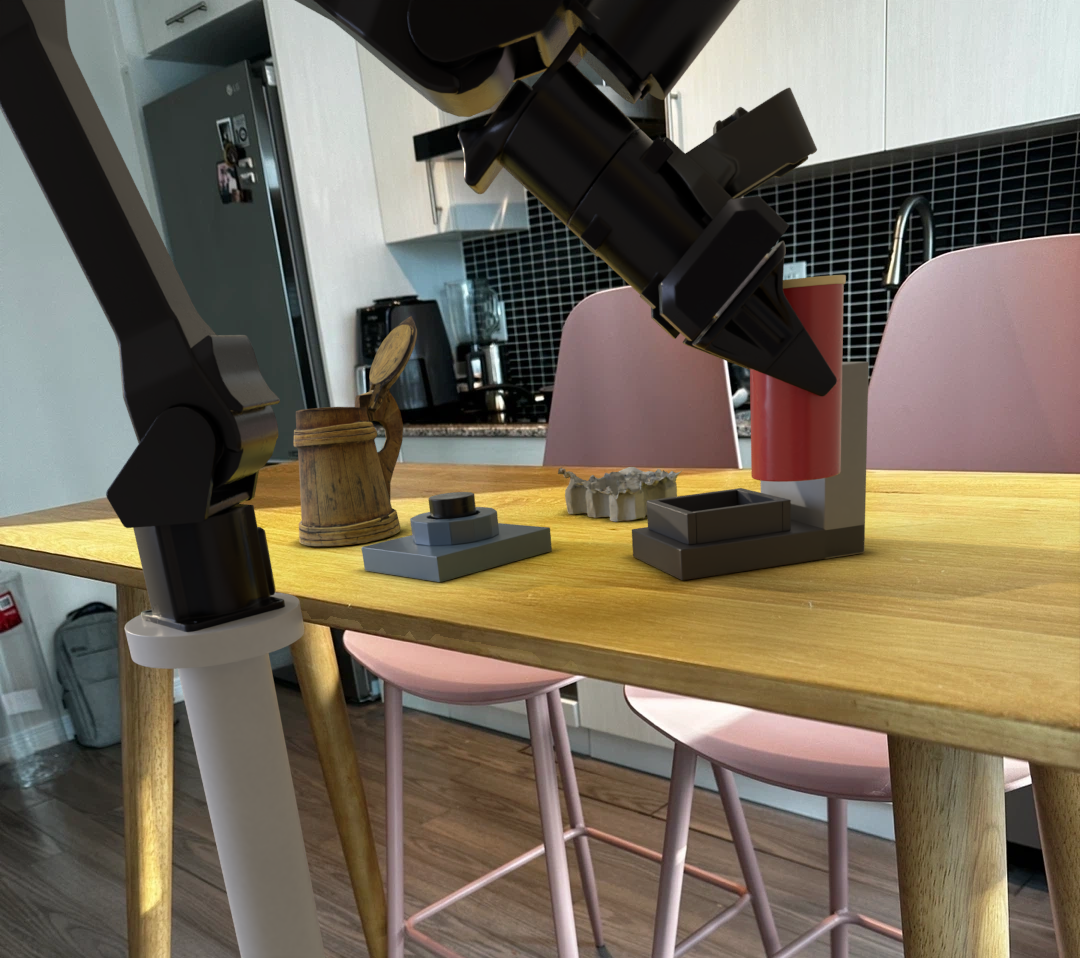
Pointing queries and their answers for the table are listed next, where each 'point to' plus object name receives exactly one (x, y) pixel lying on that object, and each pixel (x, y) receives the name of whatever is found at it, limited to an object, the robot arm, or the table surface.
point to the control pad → (455, 546)
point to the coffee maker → (768, 512)
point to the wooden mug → (353, 456)
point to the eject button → (452, 505)
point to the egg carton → (618, 493)
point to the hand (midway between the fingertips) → (821, 386)
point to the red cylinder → (802, 395)
